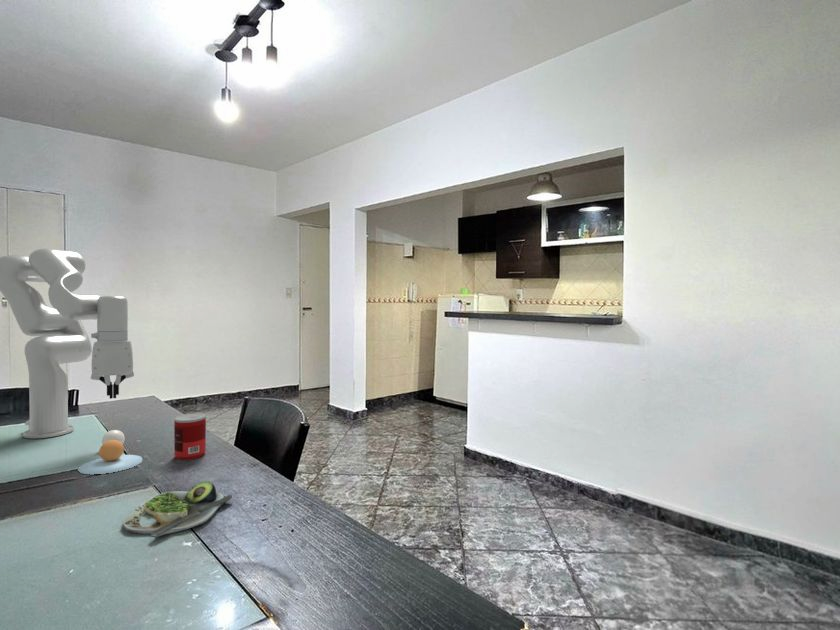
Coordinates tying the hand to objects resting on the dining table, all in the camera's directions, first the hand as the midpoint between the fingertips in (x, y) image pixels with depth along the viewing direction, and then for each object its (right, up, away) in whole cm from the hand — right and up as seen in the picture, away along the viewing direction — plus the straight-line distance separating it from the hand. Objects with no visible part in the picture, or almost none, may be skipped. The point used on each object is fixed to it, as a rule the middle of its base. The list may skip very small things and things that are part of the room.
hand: (112, 397), depth 133 cm
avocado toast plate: (+43, -17, -42) cm, 62 cm away
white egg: (+3, -12, -4) cm, 13 cm away
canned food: (+28, -15, -8) cm, 32 cm away
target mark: (+11, -15, -16) cm, 24 cm away
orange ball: (+9, -12, -13) cm, 20 cm away
